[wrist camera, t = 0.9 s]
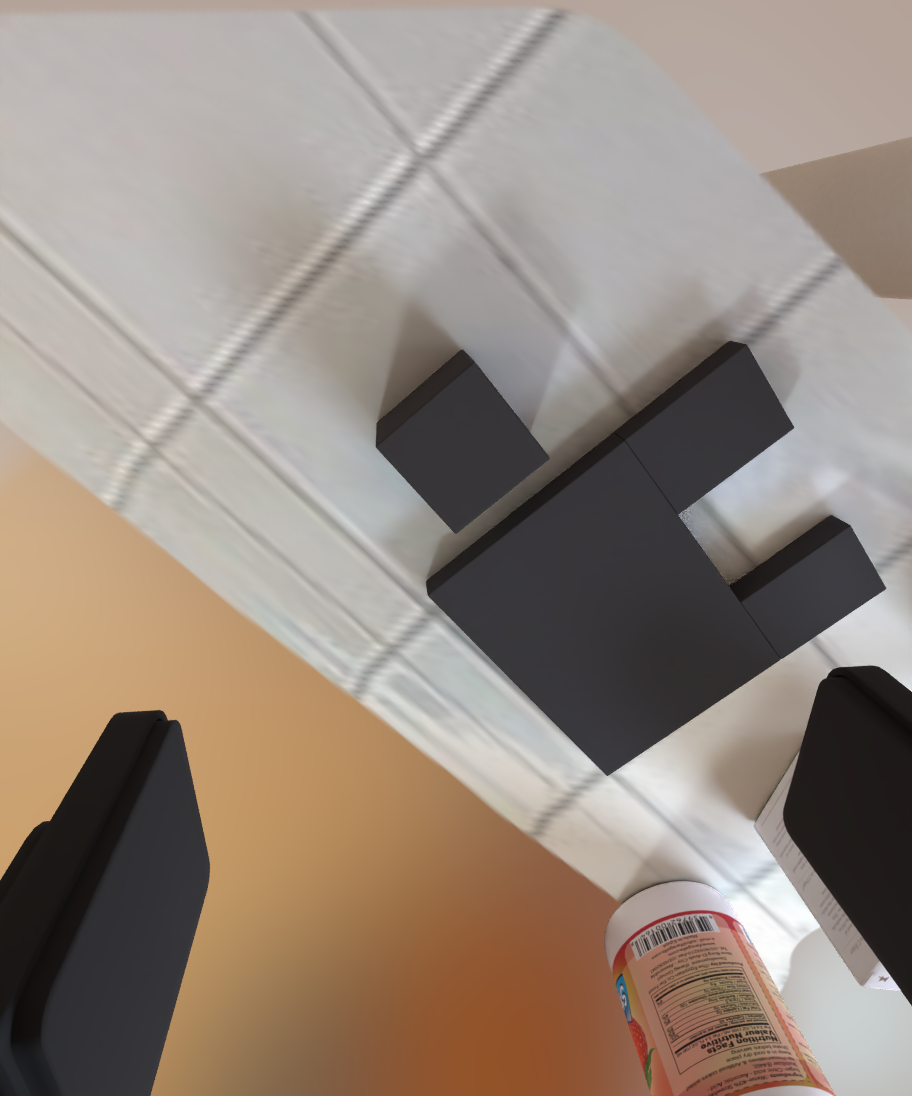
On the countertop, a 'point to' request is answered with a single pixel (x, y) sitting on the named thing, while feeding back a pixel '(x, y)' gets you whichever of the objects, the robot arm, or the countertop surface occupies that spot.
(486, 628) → the base pad
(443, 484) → the pad piece
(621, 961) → the fruit juice
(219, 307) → the countertop surface
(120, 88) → the countertop surface
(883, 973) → the small box
